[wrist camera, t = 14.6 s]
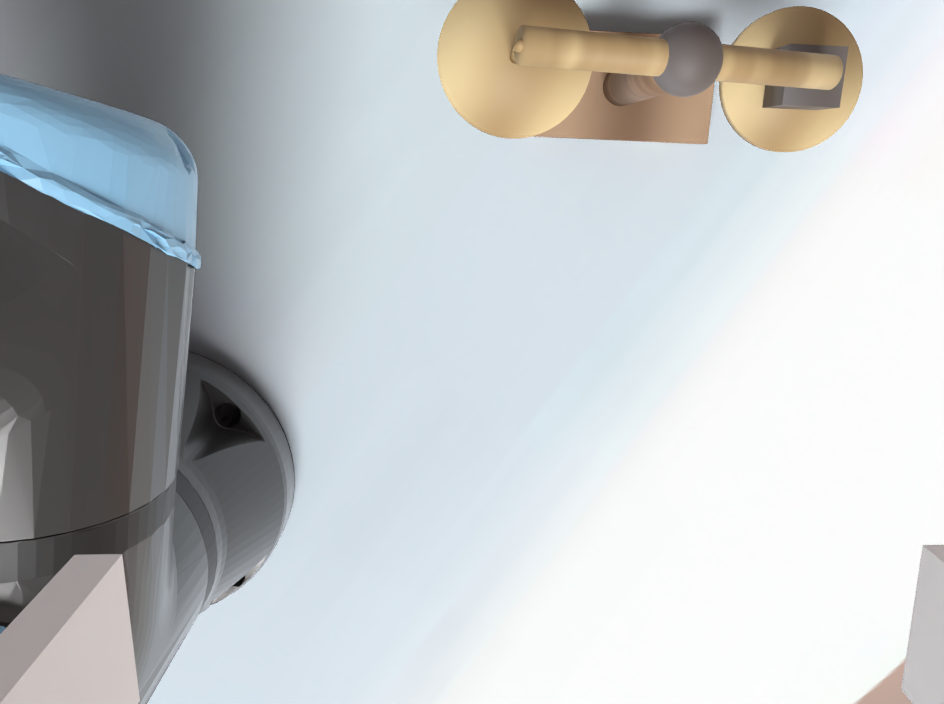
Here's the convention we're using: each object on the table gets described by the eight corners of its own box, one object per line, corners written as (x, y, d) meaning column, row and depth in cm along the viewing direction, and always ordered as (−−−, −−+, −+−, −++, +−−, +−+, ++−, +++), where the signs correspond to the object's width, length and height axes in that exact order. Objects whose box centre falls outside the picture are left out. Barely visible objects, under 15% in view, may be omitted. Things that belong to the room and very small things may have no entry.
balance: (446, 138, 42) (428, 132, 26) (450, 22, 40) (433, -61, 24) (776, 153, 42) (962, 157, 26) (791, 38, 40) (998, -34, 24)
